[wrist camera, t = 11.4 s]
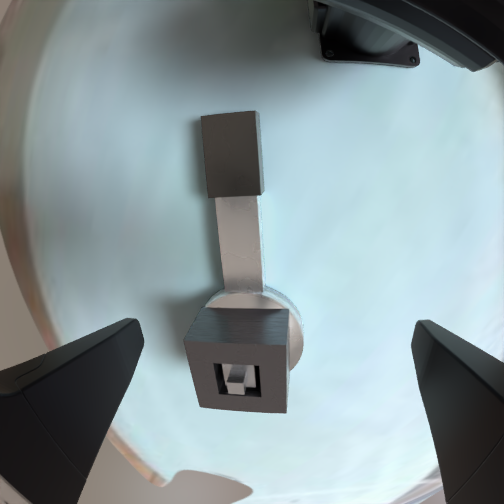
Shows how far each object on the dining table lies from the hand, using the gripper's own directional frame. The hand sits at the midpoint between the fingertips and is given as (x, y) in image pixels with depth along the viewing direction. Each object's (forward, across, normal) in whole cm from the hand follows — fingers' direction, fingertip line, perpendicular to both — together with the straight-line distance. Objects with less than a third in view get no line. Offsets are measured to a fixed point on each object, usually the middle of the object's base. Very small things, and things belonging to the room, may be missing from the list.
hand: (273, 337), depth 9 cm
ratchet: (+12, +3, +2) cm, 13 cm away
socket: (+10, +3, +8) cm, 13 cm away
